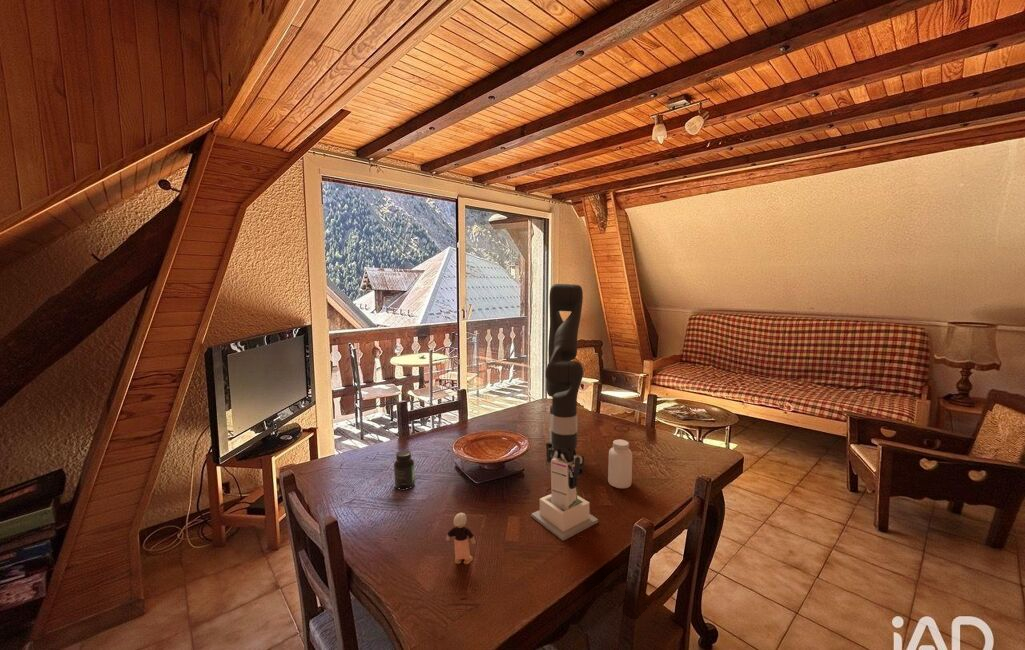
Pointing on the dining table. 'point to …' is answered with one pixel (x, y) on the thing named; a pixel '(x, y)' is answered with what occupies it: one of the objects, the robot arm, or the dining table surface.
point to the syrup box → (562, 485)
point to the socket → (564, 517)
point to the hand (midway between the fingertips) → (564, 482)
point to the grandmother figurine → (461, 539)
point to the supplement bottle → (404, 470)
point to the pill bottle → (620, 465)
